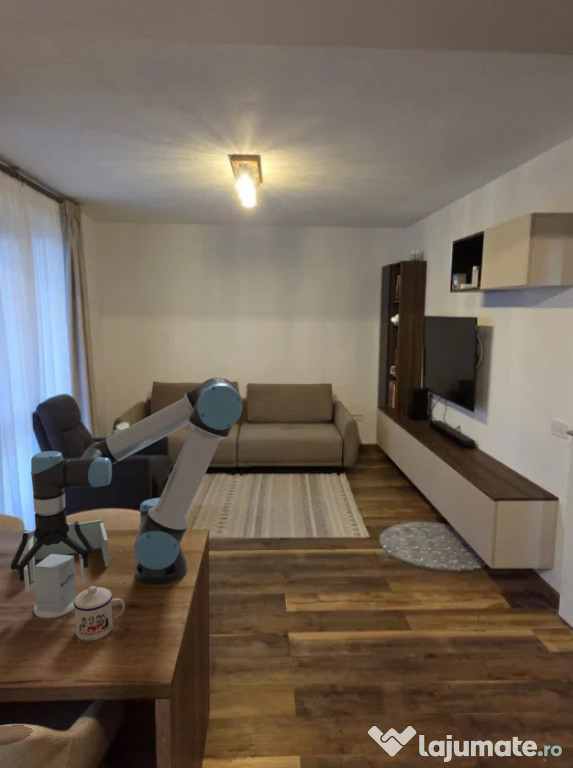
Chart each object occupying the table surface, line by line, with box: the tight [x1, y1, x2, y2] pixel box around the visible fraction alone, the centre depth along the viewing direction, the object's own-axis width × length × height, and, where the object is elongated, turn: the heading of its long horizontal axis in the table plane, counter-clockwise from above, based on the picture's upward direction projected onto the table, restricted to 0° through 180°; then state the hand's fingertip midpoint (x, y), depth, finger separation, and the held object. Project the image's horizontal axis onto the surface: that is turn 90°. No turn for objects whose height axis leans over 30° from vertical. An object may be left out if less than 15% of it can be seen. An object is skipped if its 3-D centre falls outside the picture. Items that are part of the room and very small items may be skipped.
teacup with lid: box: [73, 585, 126, 642], centre depth 126 cm, size 12×9×12 cm
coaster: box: [33, 600, 75, 619], centre depth 136 cm, size 11×11×1 cm
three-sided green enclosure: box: [28, 519, 110, 583], centre depth 158 cm, size 15×22×10 cm
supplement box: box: [34, 554, 77, 613], centre depth 135 cm, size 7×7×13 cm
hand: (55, 584), depth 135 cm, fingers open, 13 cm apart
